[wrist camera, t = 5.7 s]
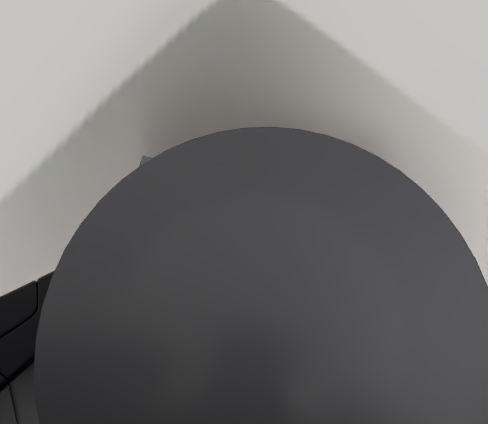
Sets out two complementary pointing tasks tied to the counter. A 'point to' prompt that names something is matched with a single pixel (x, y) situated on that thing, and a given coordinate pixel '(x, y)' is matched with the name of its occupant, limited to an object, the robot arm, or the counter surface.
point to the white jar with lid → (264, 294)
